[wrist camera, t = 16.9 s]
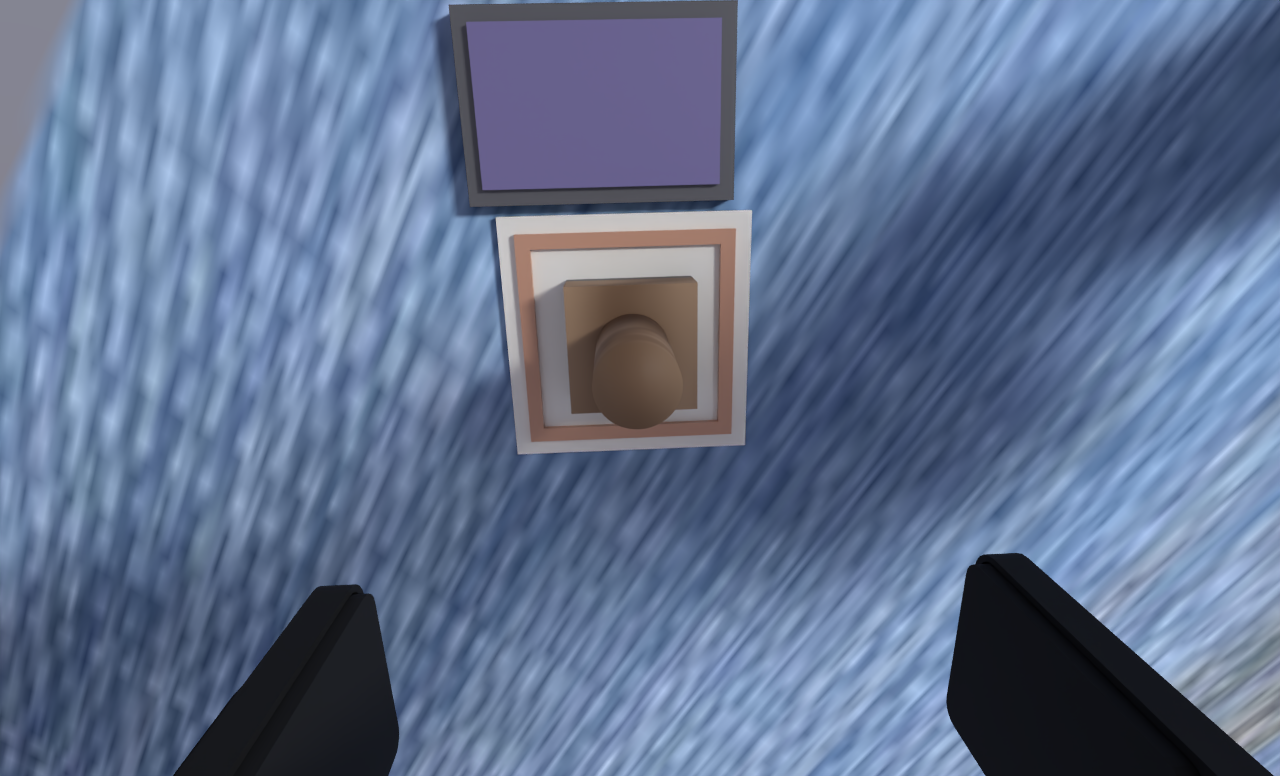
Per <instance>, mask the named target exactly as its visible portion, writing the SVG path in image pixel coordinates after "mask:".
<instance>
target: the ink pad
mask: <svg viewBox="0 0 1280 776" xmlns="http://www.w3.org/2000/svg"><path fill="white" fill-rule="evenodd" d="M737 6H738V0H724V1H660V2H595V3H531V4H466V5H449V13H450V22H451V32H452V41H453V51H454V60H455V70H456V79H457V89H458V98H459V108H460V117H461V127H462V136H463V146H464V155H465V165H466V174H467V184H468V193H469V203H470V207H484V206H521V205H558V204H595V203H632V202H670V201H707V200H734V151H735V103H736V54H737Z"/></svg>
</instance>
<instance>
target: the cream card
mask: <svg viewBox="0 0 1280 776" xmlns="http://www.w3.org/2000/svg"><path fill="white" fill-rule="evenodd" d="M751 225H752V210H731V211H694V212H658V213H622V214H585V215H549V216H512V217H496V227H497V237H498V248H499V259H500V269H501V280H502V291H503V302H504V312H505V323H506V334H507V344H508V355H509V366H510V376H511V387H512V398H513V409H514V419H515V430H516V441H517V451H518V454H541V453H566V452H590V451H615V450H639V449H663V448H688V447H712V446H737V445H745V428H746V394H747V360H748V326H749V292H750V258H751ZM666 276H692V277H693V278H694V279H695V280H696V281H697V283H698V344H697V409H683V410H675V411H674V412H673V413H672V414H671V415H670V416H669V417H668V418H667V419H666V420H665V421H663V422H662V423H660V424H658V425H656V426H653V427H650V428H646V429H628V428H624V427H621V426H618V425H616V424H614V423H612V422H611V421H610V420H608V419H607V418H606V417H605V416H604V415H603V414H602V413H583V414H571V401H570V386H569V370H568V355H567V339H566V324H565V308H564V293H563V286H564V284H565V282H566V280H574V279H605V278H636V277H666Z"/></svg>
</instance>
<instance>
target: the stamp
mask: <svg viewBox="0 0 1280 776" xmlns="http://www.w3.org/2000/svg"><path fill="white" fill-rule="evenodd" d="M563 293H564V308H565V324H566V339H567V355H568V370H569V386H570V401H571V414H583V413H602V414H603V415H604V416H605V417H606V418H607V419H608V420H610V421H611V422H612V423H614V424H616V425H618V426H621V427H624V428H628V429H646V428H650V427H653V426H656V425H658V424H660V423H662V422H663V421H665V420H666V419H667V418H668V417H669V416H670V415H671V414H672V413H673V412H674V411H675V410H683V409H697V344H698V283H697V281H696V280H695V279H694V278H693V277H692V276H666V277H636V278H605V279H574V280H566V282H565V284H564V286H563Z"/></svg>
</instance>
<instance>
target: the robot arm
mask: <svg viewBox="0 0 1280 776" xmlns="http://www.w3.org/2000/svg"><path fill="white" fill-rule="evenodd" d="M946 702H947V709H948V713H949V716H950V719H951V721H952V723H953V725H954V727H955V729H956V730H957V732H958V733H959V735H960V736H961V738H962V740H963V741H964V743H965V744H966V746H967V747H968V749H969V751H970V752H971V754H972V755H973V757H974V758H975V760H976V762H977V763H978V765H979V766H980V768H981V769H982V771H983V773H984V774H985V776H1273V775H1272V774H1271V773H1270V772H1269V771H1268V770H1267V769H1265V768H1264V767H1263V766H1262V765H1261V764H1260V763H1259V762H1258V761H1256V760H1255V759H1254V758H1253V757H1252V756H1251V755H1250V754H1249V753H1247V752H1246V751H1245V750H1244V749H1243V748H1242V747H1241V746H1240V745H1238V744H1237V743H1236V742H1235V741H1234V740H1233V739H1232V738H1231V737H1229V736H1228V735H1227V734H1226V733H1225V732H1224V731H1223V730H1221V729H1220V728H1219V727H1218V726H1217V725H1216V724H1215V723H1214V722H1212V721H1211V720H1210V719H1209V718H1208V717H1207V716H1206V715H1205V714H1203V713H1202V712H1201V711H1200V710H1199V709H1198V708H1197V707H1196V706H1194V705H1193V704H1192V703H1191V702H1190V701H1189V700H1188V699H1187V698H1185V697H1184V696H1183V695H1182V694H1181V693H1180V692H1179V691H1177V690H1176V689H1175V688H1174V687H1173V686H1172V685H1171V684H1170V683H1168V682H1167V681H1166V680H1165V679H1164V678H1163V677H1162V676H1161V675H1159V674H1158V673H1157V672H1156V671H1155V670H1154V669H1153V668H1152V667H1150V666H1149V665H1148V664H1147V663H1146V662H1145V661H1144V660H1142V659H1141V658H1140V657H1139V656H1138V655H1137V654H1136V653H1135V652H1133V651H1132V650H1131V649H1130V648H1129V647H1128V646H1127V645H1126V644H1124V643H1123V642H1122V641H1121V640H1120V639H1119V638H1118V637H1117V636H1115V635H1114V634H1113V633H1112V632H1111V631H1110V630H1109V629H1108V628H1106V627H1105V626H1104V625H1103V624H1102V623H1101V622H1100V621H1098V620H1097V619H1096V618H1095V617H1094V616H1093V615H1092V614H1091V613H1089V612H1088V611H1087V610H1086V609H1085V608H1084V607H1083V606H1082V605H1080V604H1079V603H1078V602H1077V601H1076V600H1075V599H1074V598H1073V597H1071V596H1070V595H1069V594H1068V593H1067V592H1066V591H1065V590H1064V589H1062V588H1061V587H1060V586H1059V585H1058V584H1057V583H1056V582H1054V581H1053V580H1052V579H1051V578H1050V577H1049V576H1048V575H1047V574H1045V573H1044V572H1043V571H1042V570H1041V569H1040V568H1039V567H1038V566H1036V565H1035V564H1034V563H1033V562H1032V561H1031V560H1030V559H1029V558H1027V557H1026V556H1024V555H1023V554H1019V553H1008V554H987V555H982V556H980V557H979V558H978V559H977V561H976V564H975V565H971V566H969V568H968V569H967V573H966V578H965V585H964V591H963V597H962V603H961V610H960V616H959V622H958V629H957V635H956V641H955V648H954V654H953V660H952V666H951V673H950V679H949V685H948V692H947V701H946ZM398 742H399V727H398V721H397V716H396V711H395V705H394V700H393V695H392V690H391V684H390V679H389V674H388V668H387V663H386V658H385V652H384V647H383V642H382V636H381V631H380V626H379V621H378V615H377V610H376V605H375V600H374V597H373V596H372V595H371V594H364V593H363V590H362V589H361V587H360V586H359V585H335V586H320V587H317V588H316V589H315V590H314V591H313V592H312V593H311V595H310V596H309V598H308V599H307V600H306V602H305V603H304V604H303V606H302V607H301V608H300V610H299V611H298V612H297V614H296V615H295V616H294V618H293V619H292V620H291V622H290V623H289V624H288V626H287V627H286V628H285V630H284V631H283V632H282V634H281V635H280V636H279V638H278V639H277V640H276V642H275V643H274V644H273V646H272V647H271V648H270V650H269V651H268V652H267V654H266V655H265V656H264V658H263V659H262V660H261V662H260V663H259V664H258V666H257V667H256V668H255V670H254V671H253V672H252V674H251V675H250V676H249V678H248V679H247V680H246V682H245V683H244V684H243V686H242V687H241V688H240V689H239V690H238V691H237V692H236V693H235V694H234V695H233V697H232V698H231V699H230V700H229V702H228V703H227V704H226V706H225V707H224V708H223V710H222V711H221V712H220V714H219V715H218V716H217V718H216V719H215V720H214V722H213V723H212V724H211V726H210V727H209V728H208V730H207V731H206V732H205V734H204V735H203V736H202V738H201V739H200V740H199V742H198V743H197V744H196V746H195V747H194V748H193V750H192V751H191V752H190V754H189V755H188V756H187V758H186V759H185V760H184V762H183V763H182V764H181V766H180V767H179V768H178V770H177V771H176V772H175V774H174V775H173V776H388V774H389V772H390V769H391V767H392V764H393V761H394V759H395V756H396V753H397V748H398Z"/></svg>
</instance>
